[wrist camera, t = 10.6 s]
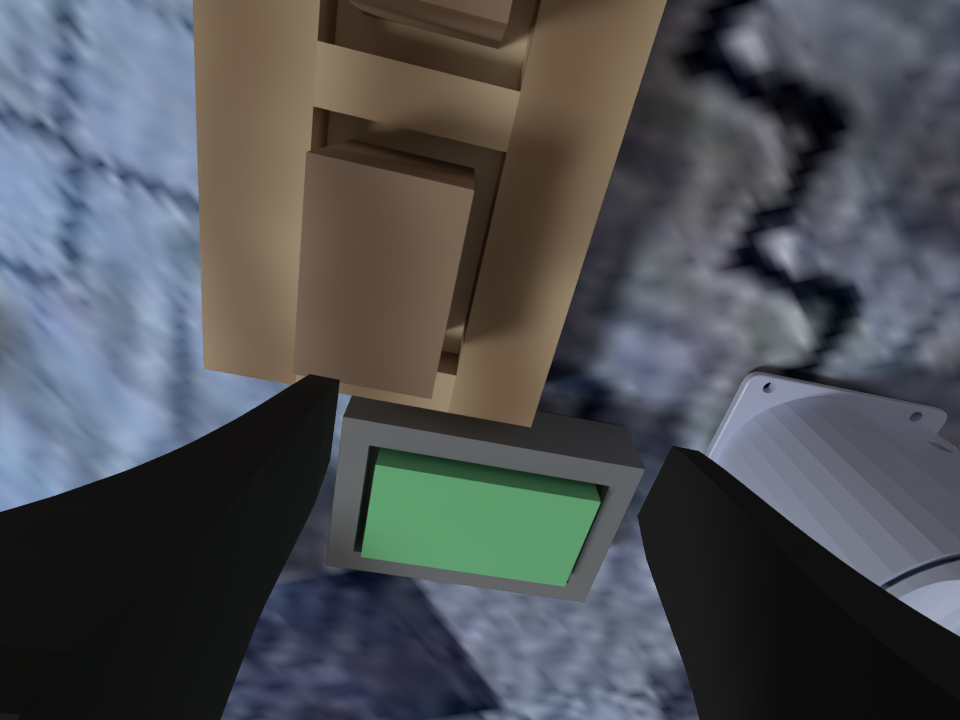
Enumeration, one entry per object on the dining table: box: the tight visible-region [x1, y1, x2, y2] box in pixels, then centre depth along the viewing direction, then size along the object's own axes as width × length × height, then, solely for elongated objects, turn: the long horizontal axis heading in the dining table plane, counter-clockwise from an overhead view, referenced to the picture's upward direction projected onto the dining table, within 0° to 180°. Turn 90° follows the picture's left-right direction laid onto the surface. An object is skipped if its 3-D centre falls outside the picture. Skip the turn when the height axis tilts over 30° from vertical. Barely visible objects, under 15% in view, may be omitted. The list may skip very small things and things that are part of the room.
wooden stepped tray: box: [193, 0, 667, 427], centre depth 15 cm, size 12×20×3 cm, turn 168°
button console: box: [326, 395, 645, 602], centre depth 22 cm, size 12×8×3 cm, turn 78°
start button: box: [361, 447, 601, 587], centre depth 22 cm, size 9×5×2 cm, turn 77°
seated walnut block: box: [293, 140, 474, 399], centre depth 15 cm, size 4×6×5 cm, turn 167°
